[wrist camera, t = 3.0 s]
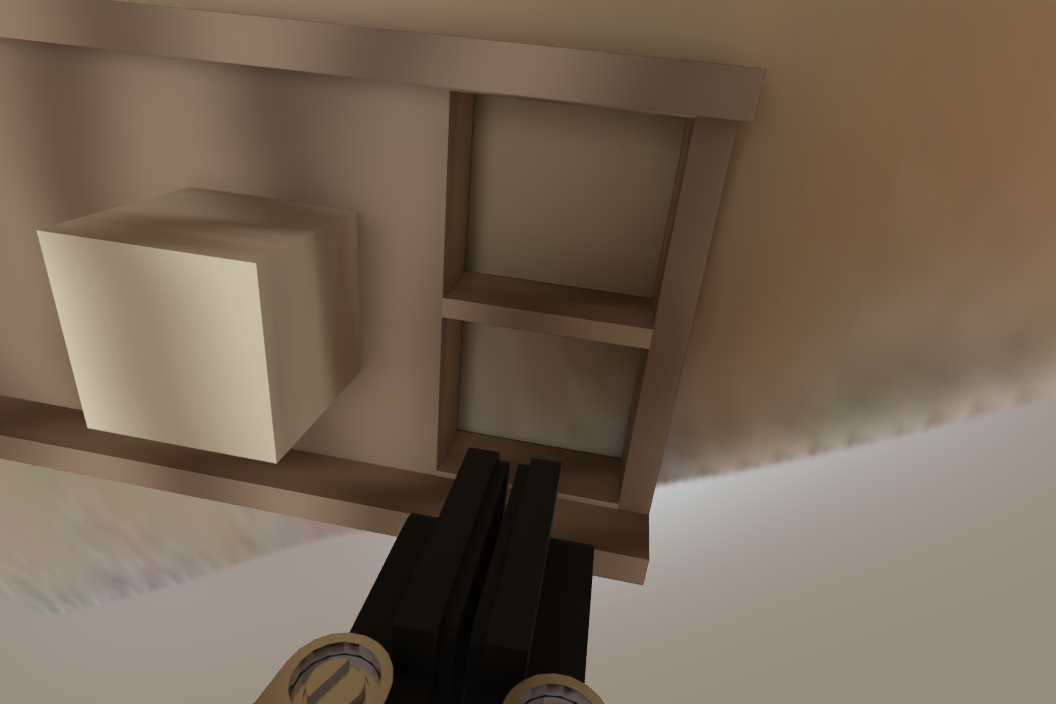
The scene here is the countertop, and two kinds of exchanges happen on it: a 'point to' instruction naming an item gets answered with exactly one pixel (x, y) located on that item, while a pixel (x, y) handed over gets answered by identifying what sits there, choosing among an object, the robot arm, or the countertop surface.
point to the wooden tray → (383, 240)
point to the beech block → (209, 317)
